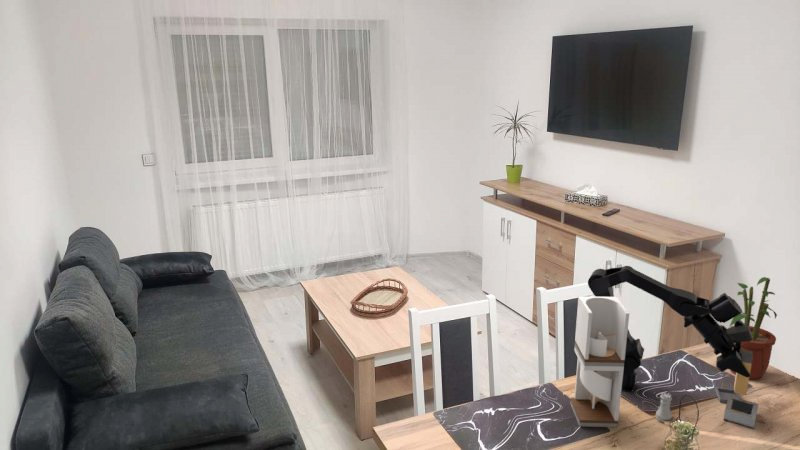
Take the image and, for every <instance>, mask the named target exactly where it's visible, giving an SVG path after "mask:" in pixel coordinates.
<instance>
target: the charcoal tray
mask: <svg viewBox="0 0 800 450" xmlns="http://www.w3.org/2000/svg"><path fill="white" fill-rule="evenodd" d="M714 391H715V394H716V396H717V398H718V401H719V403H723V404H727V402H728V399H729V396H732V397H735V398H739V399H742V397H741V394H738V393H734V388H733V389H731V388H725V387H716V386H715V388H714Z"/></svg>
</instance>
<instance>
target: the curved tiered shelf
mask: <svg viewBox="0 0 800 450" xmlns="http://www.w3.org/2000/svg"><path fill="white" fill-rule="evenodd" d="M577 298H578V299H577V310H576V311H577V312H576V323H575V337H574V338H575V339H574V347H573V348H574V350H573V351H574V353H575V355H576V356H577V361H576V362H577V363H576V372H575V373H576V374H575V375H576V376H575V387H574V397H570V398H569V399H570V401H569V405H570V406H571V409H572V411H573V414H574V417H575V419H576V421H577V424H578V426H579V427H594V428H595V427H597V428H598V427H599V428H600V427H601V428H602V427H603V428H604V427H605V428H618V426H619V415H620V408H621V397H622V390H621V389H622V380H623V370H624V361H625V351H626V341H627V332H628V330H629V321H630V312H629V311H628V309H626V307H625V306H624V304H623V303H622V302H621V301H620V299H619V298H618V297H617V296H614V297H596V296H591V295H590V296H586V295H585V296H580V295H579V296H578V297H577Z"/></svg>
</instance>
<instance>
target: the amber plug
mask: <svg viewBox="0 0 800 450" xmlns="http://www.w3.org/2000/svg"><path fill="white" fill-rule="evenodd" d="M740 353H742V359H741V361H742V363H743V364H744V366H745V367H746V369H747V370H748V372H749V374H750V370H751V364H752V360H753V355H752V351H746V350H741V349H740V351H739V354H740ZM734 377H735V379H734V385H733V390H734V393H738V394H739V395H742V396H747V393H748V387H749V383H750V379H749V377H748V378H747V377H745V376H743V375H741V374H738V373H736V375H735V376H734Z"/></svg>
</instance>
